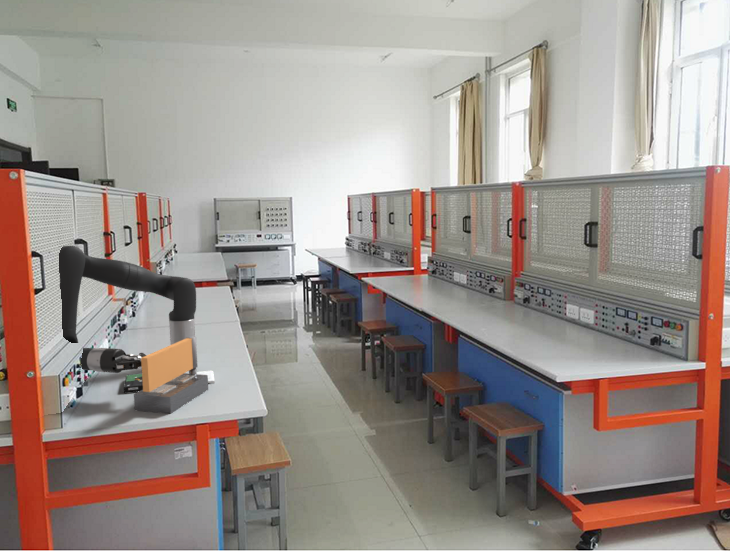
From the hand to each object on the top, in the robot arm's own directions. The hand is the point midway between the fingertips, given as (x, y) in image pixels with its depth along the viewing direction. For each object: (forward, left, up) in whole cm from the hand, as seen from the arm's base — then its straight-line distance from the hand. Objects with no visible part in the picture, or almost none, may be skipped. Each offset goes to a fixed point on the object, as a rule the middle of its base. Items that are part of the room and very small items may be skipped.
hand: (155, 363), depth 178 cm
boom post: (-14, +4, -12) cm, 19 cm away
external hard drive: (-23, +2, -13) cm, 27 cm away
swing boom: (-2, +4, -5) cm, 7 cm away
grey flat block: (-2, +4, -12) cm, 13 cm away
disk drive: (-13, -15, -13) cm, 23 cm away
